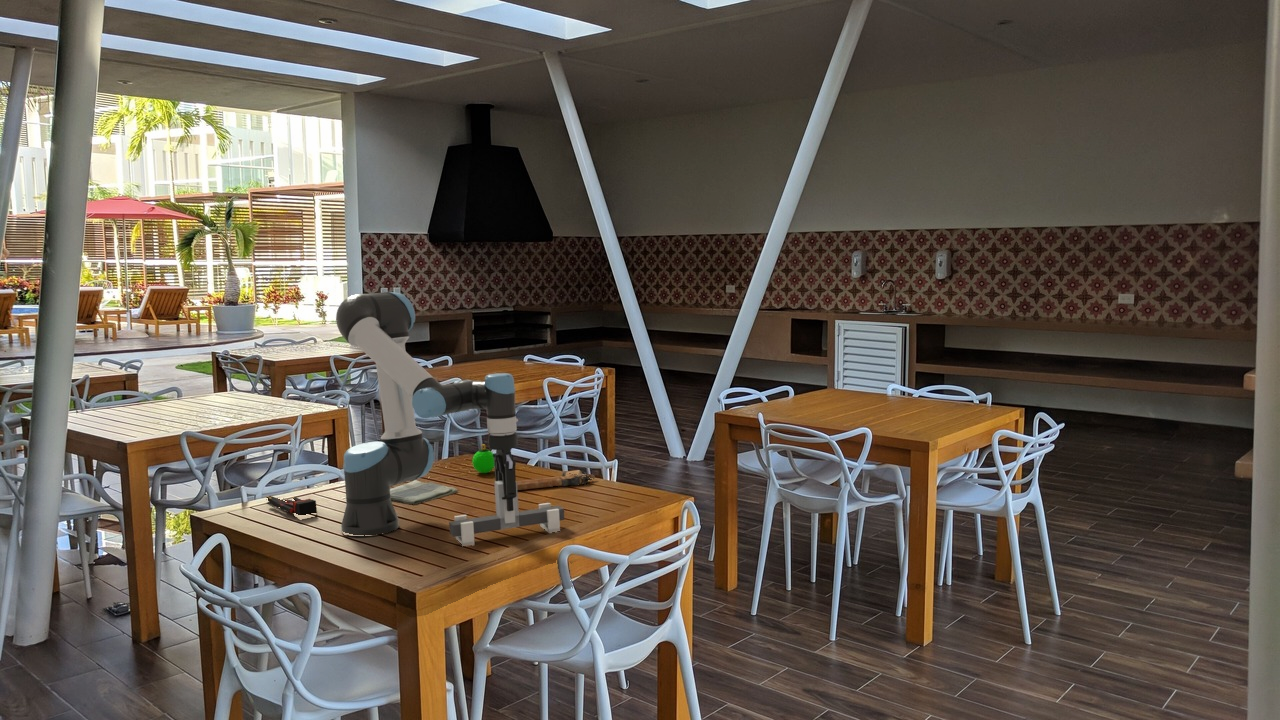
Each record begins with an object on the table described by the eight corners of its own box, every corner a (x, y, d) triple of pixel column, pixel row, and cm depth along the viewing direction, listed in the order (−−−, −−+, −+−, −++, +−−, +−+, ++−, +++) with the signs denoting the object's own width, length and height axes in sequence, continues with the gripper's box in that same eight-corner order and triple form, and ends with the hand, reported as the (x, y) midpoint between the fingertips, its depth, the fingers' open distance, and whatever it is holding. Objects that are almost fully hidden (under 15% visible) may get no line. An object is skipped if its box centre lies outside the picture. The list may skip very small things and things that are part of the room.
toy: (261, 509, 291) (296, 521, 268) (259, 493, 290) (294, 504, 268) (288, 503, 296) (325, 515, 273) (286, 488, 296) (323, 499, 273)
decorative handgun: (504, 476, 306) (509, 484, 292) (588, 467, 313) (597, 474, 299) (505, 486, 306) (510, 494, 292) (589, 476, 313) (598, 484, 299)
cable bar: (453, 536, 238) (450, 490, 237) (449, 533, 241) (446, 487, 240) (564, 519, 250) (562, 475, 248) (559, 516, 253) (557, 473, 252)
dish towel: (413, 507, 281) (413, 496, 281) (376, 499, 292) (376, 489, 291) (460, 493, 296) (459, 483, 295) (423, 487, 306) (422, 477, 306)
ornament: (500, 470, 324) (499, 442, 323) (490, 476, 316) (488, 447, 315) (479, 470, 326) (478, 442, 325) (468, 475, 319) (467, 446, 318)
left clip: (462, 546, 237) (461, 523, 236) (455, 538, 245) (454, 516, 244) (474, 545, 238) (473, 522, 237) (467, 536, 246) (465, 514, 245)
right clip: (549, 533, 246) (548, 511, 245) (539, 525, 254) (538, 504, 253) (560, 531, 247) (559, 509, 246) (550, 524, 255) (549, 502, 254)
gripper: (525, 436, 237) (530, 526, 239) (507, 426, 252) (512, 511, 255) (496, 439, 234) (502, 530, 236) (480, 429, 249) (485, 515, 252)
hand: (507, 520), depth 245 cm, fingers closed on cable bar, 4 cm apart
